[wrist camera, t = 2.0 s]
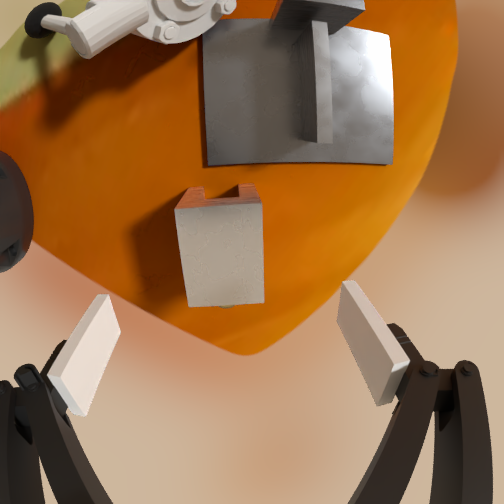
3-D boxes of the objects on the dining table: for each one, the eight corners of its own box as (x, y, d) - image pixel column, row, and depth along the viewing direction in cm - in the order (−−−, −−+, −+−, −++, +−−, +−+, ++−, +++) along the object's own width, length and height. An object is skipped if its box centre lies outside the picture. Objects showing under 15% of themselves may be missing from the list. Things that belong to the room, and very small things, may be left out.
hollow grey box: (197, 269, 30) (189, 312, 23) (188, 187, 26) (174, 209, 19) (256, 266, 30) (264, 307, 23) (253, 183, 27) (261, 203, 20)
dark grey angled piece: (208, 164, 25) (200, 178, 19) (203, 23, 20) (194, -11, 13) (389, 163, 26) (433, 178, 19) (385, 36, 21) (427, 18, 14)
